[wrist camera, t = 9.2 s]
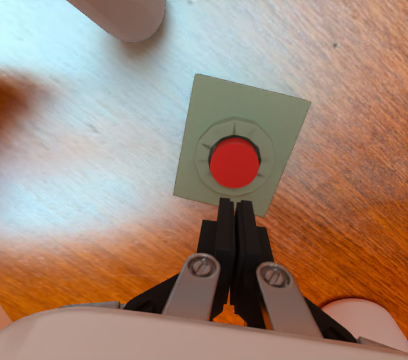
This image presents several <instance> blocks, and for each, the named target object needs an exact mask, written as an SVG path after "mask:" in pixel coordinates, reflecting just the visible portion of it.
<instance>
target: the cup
mask: <svg viewBox="0 0 408 360" xmlns="http://www.w3.org/2000/svg"><path fill="white" fill-rule="evenodd" d="M321 310H323V311H324V312H325V313H326V314H328V315H329V316H330V317H332V318H333V319H334V320H335V321H337V322H338V323H339V324H341V325H342V326H343V327H344V328H346V329H347V330H348V331H349V332H350V333H351V334H352V335H353V336H354V338H356V339H358V338H359V336H361V337H364V338H367V339H369V340H372V341H375V342H378V343H381V344H384V345H387V346H389V347H392V348H395V349H398V350H401V351H404V352H407V353H408V341H407V339H406V338H405V336H404V335H403V333H402V331H401V330H400V328H399V327H398V325H397V324H396V322H395V321H394V319H393V318H392V316H391V315H390V314H389V312H388V311H386V310H385V309H384V308H383V307H381V306H380V305H378V304H376V303H374V302H371V301H368V300H364V299H355V298H349V299H341V300H337V301H334V302H332V303H329V304H327V305H326V306H324V307H323V308H322V309H321Z"/></svg>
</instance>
